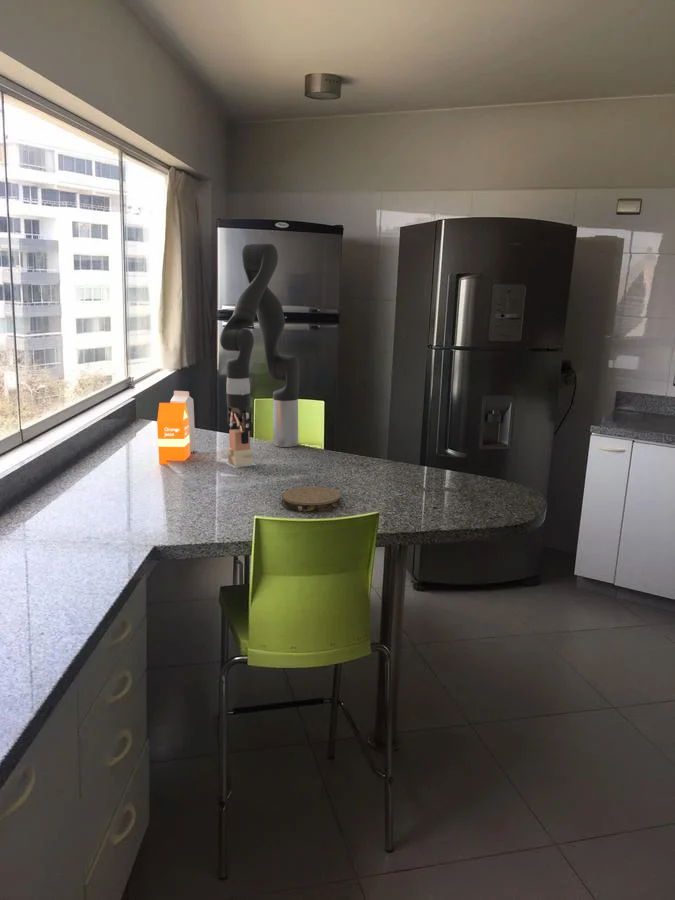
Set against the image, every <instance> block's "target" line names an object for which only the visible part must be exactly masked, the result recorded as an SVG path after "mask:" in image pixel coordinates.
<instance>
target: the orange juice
mask: <svg viewBox="0 0 675 900" xmlns="http://www.w3.org/2000/svg"><path fill="white" fill-rule="evenodd" d="M156 425H157V426H156V427H157V428H156V429H157V446H158V448H157V449H158V462H159V463H158V464H159V465H171V463H170V462H168V461H186V460H187V459H188V458H189V457H190V456H191V453H190V444H189V442H190V440H189V420H188V414H187V409H186V405H185V403H170V402H159V404H158V412H157V420H156Z"/></svg>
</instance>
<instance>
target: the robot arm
mask: <svg viewBox="0 0 675 900" xmlns="http://www.w3.org/2000/svg"><path fill="white" fill-rule="evenodd" d="M278 260H279V255H278V249H277V248H276V246H275V245H274V244H273V243H266V242H265V243H247V244H244V245H243V247H242V248H241V263H242V267H243V271H244V274H245V276H246V280H247V282H248V285H247V286H246V287H245V288H244V289H243V291H241V293H240V294H239V296H238V298H237V300H236V303H235V306H234V310H233V312H232V316H230V318H229V319H228V320H227V323H226V324H225V326H223V329H222V330H221V332H220V337H219V344H220V346H221V348H222V349H223V350H225V351H230V352H231V351H232V352H238V355H237V357H234V358H233V357H232V358H229V359H228V360H227V361H226V384H225V385H226V386H225V387H226V406H227V409H226V410H227V412H226V413H227V415H226V416H227V417H226V418H227V422H226V423H227V425H229V427H230V430H233V429H241V443H242V444H248V442H249V439H248V432H249V431H250V432H252V429H253V427H252V413H251V412H250V411H249V412H247V408H249V407H251V383H250V360H251V356H252V351H253V348H254V345H255V344H254V343H255V338H254V334H253V333H252V331H251V330H250V329H247V328H249V327H251V326H253V324H254V322H255V319H256V317H257V321H258V325H259V329H260V333H261V337H262V343H263V348H264V353H265V360H266V361H265V362H266V369H267V372H268V375H269V377H270V379H271V380H274V381H282V382H283V381H284V382H285V385H284V386H283V387H282V388H279V389H276V390H274V391H273V392H272V431H273V434H272V435H273V437H272V438H273V439H272V440H273V441H272V442H273V446H275V447H281V448H292V447H296V446H298V445H299V390H300V361H299V358H298V357H297V356H295V355H284V354H283V355H282V354H279V351H278V342H279V340H280V338H281V335H282V333H283V331H284V328H285V326H286V325H285V324H286V320H285V314H284V310H283V306H282V303H281V301H280V299H279V298H278V297H277V296H276V294H275V293H274V292H273V291H272V290H271V289H270V287H269V286H268V285H269V283H270V281H271V279H272V277H273V275H274V273H275V270H276V268H277V266H278ZM238 427H239V428H238Z"/></svg>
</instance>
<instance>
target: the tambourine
mask: <svg viewBox="0 0 675 900" xmlns="http://www.w3.org/2000/svg"><path fill="white" fill-rule="evenodd" d="M281 505H282V507H283V508H284V509H285V510H288V511H290V512H295V513H300V514H320V513H326V512H331V511H334V510H336V509H338V508H339V507H340V505H341V493H340V492H339V491H338V490H336V489H333V488H328V487H325V486H324V487H322V486H302V487H301V486H300V487H294V488H290V489H287V490H285V491H284V492H283V493H282V494H281Z"/></svg>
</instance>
